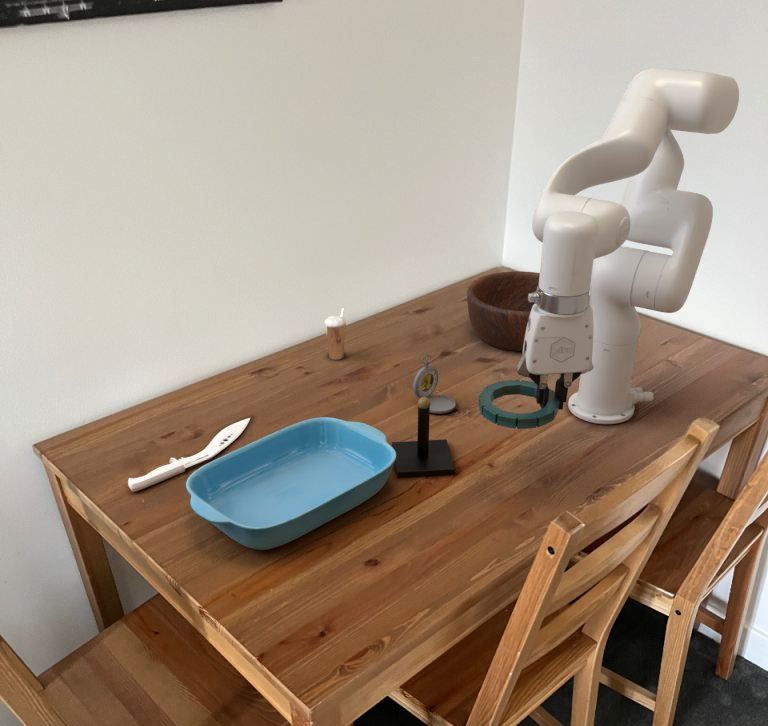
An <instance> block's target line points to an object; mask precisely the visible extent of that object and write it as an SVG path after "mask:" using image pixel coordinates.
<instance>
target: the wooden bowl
mask: <svg viewBox="0 0 768 726" xmlns="http://www.w3.org/2000/svg"><path fill="white" fill-rule="evenodd" d="M539 276H540V272H535V271H523V270H522V271H521V270H520V271H518V270H517V271H514V270H513V271H501V272H495V273H494V272H493V273H490V274H487V275H483V276H481V277H479V278H477V279H475V280H473V281H472V282H470V284H469V285H468V287H467V290H466V300H467V312H468V316H469V317H468V319H469V321H470V324H471V326H472V329H473V332H474V333H475V334H476V336H477V337H478V338H479V339H480V340H481V341H482V342H484V343H486V344H488V345H490V346H492V347H495V348H498V349H501V350H505V351H512V352H523V345H524V338H525V333H526V328H527V323H528V320H529V316H530V313H531V310H532V307H533V305H534V304H536V303H534V302H529V301H528V294H529V293H533V292H536V290H537V286H539Z"/></svg>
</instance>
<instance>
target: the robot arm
mask: <svg viewBox="0 0 768 726" xmlns="http://www.w3.org/2000/svg"><path fill="white" fill-rule="evenodd" d="M738 85H739V84H738V83H737V81H736V79H735V78H734V77H732V76H728V75H721V74H718V73H713V72H708V71H700V70H690V69H689V70H687V69H679V68H678V69H677V68H667V67H651V68H647V69H643V70H641V71H640V72H638V73H637V74H636V75H635V76H634V77H633V78H632V79H631V80H630V82H629V84H628V85H627V87H626V89H625V91H624V94H623V95H622V97H621V98H620V100H619V103H618V105H617V106H616V109H615V111H614V113H613V115H612V116H611V119H610V121H609V122H608V125H607V127H606V129H605V131H604V133H603V135H602V137H601V138H599V139H598V140H595V141H594V142H591V143H589V144H587V145H586V146H584V147H582V148H581V149H579V150H577V151H576V152H575V153H573V154H571V156H569V157H567V158H566V159H565V160H564V161H562V162H561V163H560V164H559V165H558V166H557V167H556V168H555V169H554V170H553V172H552V173H551V175H550V176H549V178H548V180H547V182H546V184H545V186H544V188H543V190H542V192H541V194H540V195H539V198H538V201H537V202H536V206H535V208H534V211H533V215H532V219H531V221H532V222H531V227H532V233H533V235H534V236H535V238H536V239H537V241H539V242H540V243H542V247H541V259H540V267H539V273H540V276H539V286H537V290H536V292H533V293H529V294H528V301H529V302H534V303H536V304H534V305H533V307H532V310H531V313H530V316H529V320H528V323H527V328H526V333H525V338H524V345H523V351H522V356H521V358H520V360H519V362H518V364H517V366H516V368H515V371H516V373H517V374H518V376H522V377H524V378H529V379H530V380H531V382H535V383H536V384H537V393H536V398H535V402H536V404H537V405H539V407H540V409H543V408H544V407H545V406H546V404H547V402H548V399H549V389H550V388H549V386H548V378H549V375H557V374H558V375H559V378H558V379H556V380H555V386H554V392H555V393H556V395H557V397H558V399H559V401H560V403H559V411H562V410H564V404H565V403H567V405H568V406H567V407H568V410H569V411H570V412H571V414H572V415H574V416H575V417H576V418H578V419H580V420H583V421H585V422H588V423H592V424H598V425H616V424H621V423H624V422H626V421H629V420H630V419H631V418H633V416H634V413H635V409H636V408H635V405H636V404H637V403H641V402H642V403H648V402H653V400H654V393H653V392H652V391H643V388H642V387H639V386H637V387H631V383H632V378H633V375H634V373H633V372H634V368H635V363H636V357H637V352H638V345H639V340H640V336H641V319H640V317H639V314H638V312H637V309H636V308H641V309H643V310H649V311H654V312H659V313H664V314H672V313H677V312H678V311H680V310H681V309H682V308H683V307H684V305H685V304H686V302H687V299H688V297H689V295H690V292H691V289H692V287H693V284H694V281H695V278H696V274H697V271H698V268H699V266H700V263H701V259H702V256H703V254H704V251H705V248H706V245H707V241H708V238H709V236H710V232H711V229H712V223H713V216H714V208H713V204H712V201H711V200H710V199H709V198H708V197H707V196H706V195H704V194H701V193H698V192H694V191H693V192H692V191H686V190H679V189H678V187H679V183H680V180H681V177H682V175H683V171H684V168H685V158H684V155H683V152H682V151H683V150H682V149H681V147H680V144H679V143H678V141H677V139H676V138H675V136H674V134H673V132H672V131H677V132H679V131H680V132H685V133H697V134H703V135H714V134H721V133H722V132H724V131H725V130H726V129H727V128H728V127H729V126H730V124H732V122H733V120H734V118H735V115H736V113H737V111H738V107H739V102H740V89H739V86H738ZM625 179H627V182H626V185H625V188H624V191H623V195H622V198H621V201H620V203H617V202H615V201H611V200H603V199H597V198H592V197H587V196H581V195H580V196H579V195H577V194H579V193H580V192H583V191H584V190H587V189H589V188H592V187H595V186H599V185H604V184H609V183H613V182H618V181H622V180H625ZM626 241H628V242H633V243H636V244H642V245H646V246H647V245H648V246H652V247H658V248H664V249H670V250H671V251H672V254H666V253H661V252H657V251H656V252H655V251H650V250H647V249H641V248H635V247H630V246H623V244H625V242H626ZM578 378H579V383H578V391H576V392H574V393H572V395H570V397H569V398H568V392H569V391H568V389H569V388H570V387H571V386H572V383H573V382H575V381H576V380H577V379H578ZM567 400H568V401H567Z"/></svg>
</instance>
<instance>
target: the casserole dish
mask: <svg viewBox="0 0 768 726" xmlns="http://www.w3.org/2000/svg"><path fill="white" fill-rule="evenodd" d="M395 460H396V452H395V450H394V449H393V447H392V445H391V444H389V443H388V441H387V436H386V434H385V433H384V432H383V431H381V430H380V429H377V427H374V426H371V425H370V424H368V423H364V422H360V421H350V420H349V421H347V420H344V419H340V418H336V417H328V416H327V417H325V416H323V417H313V418H308V419H306V420H303V421H299V422H297V423H294V424H291V425H289V426H287V427H283V428H281V429H279V430H277V431H275V432H273V433H270V434H268V435H266V436H263V437H261V438H259V439H257V440H255V441H253V442H251V443H248V444H246V445H244V446H241V447H240V448H239V447H238V448H237V449H235V450H233V451H230V452H227V454H225V455H222V456H220V457H218V458H216V459H214V460H212V461H210V462H208V463H206V464H204V465H202V466H201V467H199V468H198V469H196V470H194V471H193V472H192V473H191V474H190V475H189V476H188V478H187V479H186V482H185V489H186V490H187V493H188V494H189V496H190V503H189V504H190V508H191V510H192V511H193V512H194V513H195V514H196V515H197V516H199V517H200V518H201V519H203V520H205V521H207V522H209V523H210V524H212V525H213V526H214V527H215V528H217V529H218V530H219V531H220V532H222V533H223V534H225V535H226V536H227V537H229V539H232V540H233V541H235V542H237V543H238V544H240V545H242V546H243V547H245V548H249V549H251V550H258V551H266V550H271V549H275V548H278V547H281V546H283V545H286V544H288V543H291V542H292V541H295V540H297V539H299V538H301V537H303V536H305V535H306V534H308V533H310V532H312V531H314V530H316V529H317V528H319V527H321V526H323V525H325V524H327V523H328V522H330V521H332V520H334V519H337V518H338V517H340V516H341V515H343V514H346V513H347V512H349V511H350V510H353V509H354V508H356V507H358V506H359V505H361V504H363V503H365V502H366V501H368V500H370V499H371V498H372V497H373V496H375V495H376V494H377V493H378V492H380V491H381V490H382V489H383V487H384V486H385V485H386V482H387V481H388V479H389V477H390V474H391V472H392V470H393V466H394V465H395Z"/></svg>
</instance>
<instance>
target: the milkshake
mask: <svg viewBox="0 0 768 726" xmlns="http://www.w3.org/2000/svg"><path fill="white" fill-rule="evenodd" d="M344 311H345V309H344V308H343V307H342V308H341V312H340V316H339V315H330V316H328V317H327V318H326V319H325V320H324V321H323V322H324V329H325V336H326V342H327V349H328V358H329V359H331V360H333V361H335V360H336V361H339V360H342V359H343V358H344V357H345V341H346V339H345V338H346V337H345V336H346V328H347V327H346V325H347V321H346V319H345V318H344V317H343V316H344Z"/></svg>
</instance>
